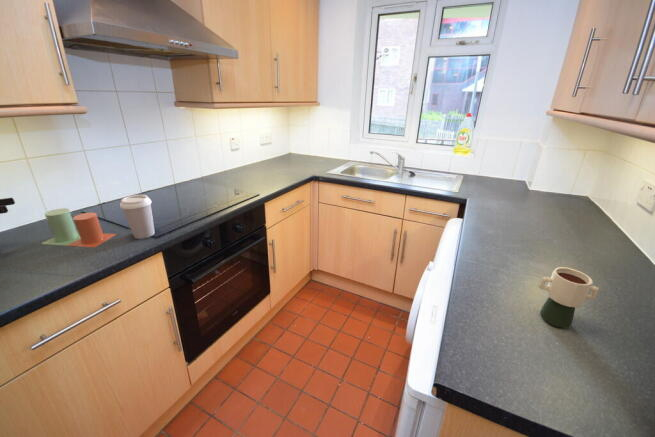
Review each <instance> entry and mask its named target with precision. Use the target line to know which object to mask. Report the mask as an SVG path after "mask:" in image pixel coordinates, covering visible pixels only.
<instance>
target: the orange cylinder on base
mask: <svg viewBox="0 0 655 437" xmlns="http://www.w3.org/2000/svg"><path fill="white" fill-rule="evenodd" d="M72 219H73V222H74V225H75V227H76V230H77V232H78V233H79V236H80V239H81V242H82V243H83V244H91V243H95V242H98V241H101V240H102V239H104V235H103V233H104V232H103V229H102V226H101V223H100V220H99V217H98V213H96V212H84V213H79V214H77V215H74V217H72Z"/></svg>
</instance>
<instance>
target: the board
mask: <svg viewBox="0 0 655 437" xmlns="http://www.w3.org/2000/svg"><path fill="white" fill-rule="evenodd" d="M77 233H78V231H77ZM103 235H104V239H102V240H101V241H98V242H95V243H91V244H83V243H82V242H81V239H80V236H79V233H78V237H77V238H75V239H72V240H69V241H65V242H56V241H55V239H54V236H53V237H51V238H49V239H47V240H45V241H42V242H41V243H40V244H41V245H52V246H66V247H67V246H68V247H81V248H82V247H83V248H97V247H98V246H100V245H101V244H103V243H104V242H106V241H108V240H111V238H113V237H114V236H116V235H117V233H105V232H103Z"/></svg>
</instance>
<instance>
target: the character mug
mask: <svg viewBox="0 0 655 437" xmlns="http://www.w3.org/2000/svg"><path fill="white" fill-rule="evenodd" d="M546 282H548V284H547V285H546ZM593 283H594V282H593V279H592V278H591V277H590V276H589V275H587V274H586V273H584V272H582V271H579V270H578V269H574V268H571V267H567V266H566V267H565V266H559V267H556V268H555V269H554V270H553V271H552V274H551V276H550V277H547V276H542V278H541V279H540V282H539V285H538V289H540V290H544V291H546V294H547V296H548V297H547V298H546V301H545V302H544V304H543V305H542V307H541V309H540V311H539V315H540V316H541V317H542V318H543V319H544V320H545V321H546V322H548V323H549V324H551V325H553V326H554V327H558V328H562V329H564V328H569V327H570V326H571V325H572V324H573V321H574V316H575V312H576V308H579V307H582V305H583V304H584V303H585V301H586V300H587V299H589V300H594V299H595V298H596V297H597V294H598V292H599V290H600V289H599V287H598V286H595V285H593ZM590 291H591V292H590ZM589 292H590V294H589Z"/></svg>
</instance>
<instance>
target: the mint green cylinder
mask: <svg viewBox="0 0 655 437" xmlns="http://www.w3.org/2000/svg"><path fill="white" fill-rule="evenodd" d="M44 217H45V219H46V221H47V224H48V226H49V229H50V231H51V234H52V236H53V237H54V239H55V241H56V242H65V241H69V240H72V239H75V238H77V237H78V233H77V232H78V231H77V228H76V225H75V222H74V220H73V216H72V213H71V211H70V209H69V208H66V207H64V208H55V209H51V210H49V211H47V212H45V213H44Z"/></svg>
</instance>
